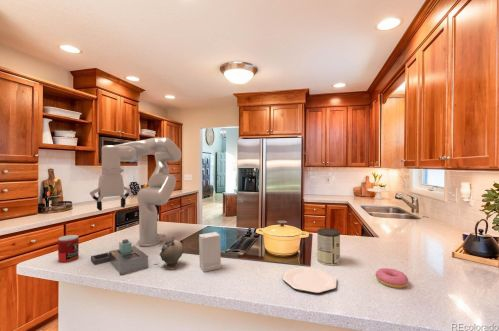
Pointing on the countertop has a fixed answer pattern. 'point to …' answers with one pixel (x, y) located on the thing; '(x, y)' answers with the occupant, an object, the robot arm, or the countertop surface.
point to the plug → (124, 246)
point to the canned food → (68, 248)
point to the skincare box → (209, 251)
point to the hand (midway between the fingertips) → (111, 208)
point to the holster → (100, 258)
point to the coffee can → (328, 246)
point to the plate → (310, 280)
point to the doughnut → (392, 278)
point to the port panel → (128, 260)
